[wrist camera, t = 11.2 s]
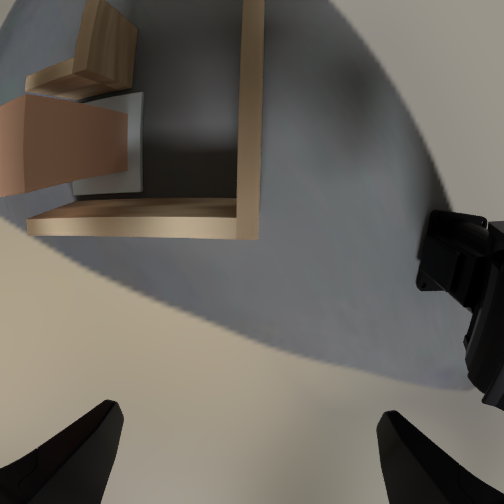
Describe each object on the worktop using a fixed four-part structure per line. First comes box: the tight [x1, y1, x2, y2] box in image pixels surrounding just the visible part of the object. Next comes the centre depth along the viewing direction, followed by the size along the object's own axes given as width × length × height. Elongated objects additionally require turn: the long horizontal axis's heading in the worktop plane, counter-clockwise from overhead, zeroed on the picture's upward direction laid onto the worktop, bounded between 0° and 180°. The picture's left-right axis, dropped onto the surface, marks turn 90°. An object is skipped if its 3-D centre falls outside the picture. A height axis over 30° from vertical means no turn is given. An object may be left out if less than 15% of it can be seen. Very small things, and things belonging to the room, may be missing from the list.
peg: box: [0, 94, 128, 197], centre depth 12 cm, size 4×4×10 cm
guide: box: [25, 0, 265, 240], centre depth 14 cm, size 14×14×6 cm
